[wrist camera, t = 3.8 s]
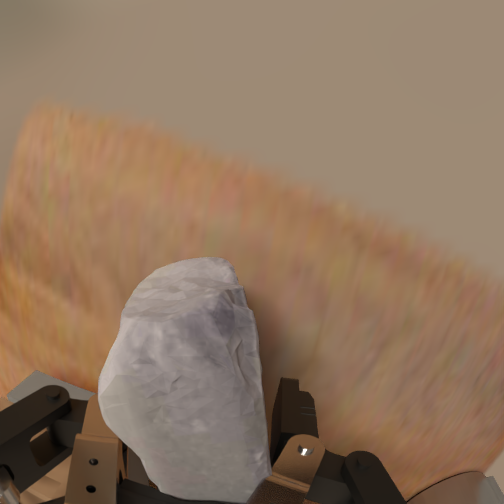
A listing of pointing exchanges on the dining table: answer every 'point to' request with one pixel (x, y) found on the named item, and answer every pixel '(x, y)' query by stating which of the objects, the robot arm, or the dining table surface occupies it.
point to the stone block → (190, 383)
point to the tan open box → (44, 477)
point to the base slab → (40, 380)
